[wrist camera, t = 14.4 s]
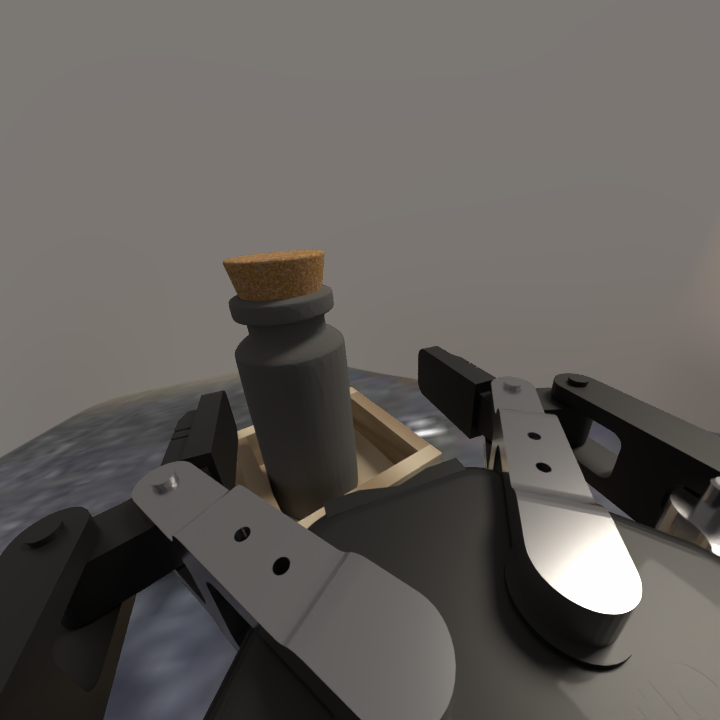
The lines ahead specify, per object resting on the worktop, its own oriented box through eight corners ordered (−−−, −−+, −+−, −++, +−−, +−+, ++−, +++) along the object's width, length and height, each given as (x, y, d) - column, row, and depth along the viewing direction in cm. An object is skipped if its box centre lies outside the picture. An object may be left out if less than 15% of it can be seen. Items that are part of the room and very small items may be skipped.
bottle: (349, 446, 23) (327, 246, 17) (368, 508, 18) (345, 252, 12) (275, 462, 22) (221, 255, 16) (271, 533, 17) (191, 267, 11)
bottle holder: (281, 633, 14) (263, 583, 12) (229, 474, 23) (215, 434, 21) (456, 501, 19) (460, 454, 18) (357, 416, 29) (354, 381, 27)
